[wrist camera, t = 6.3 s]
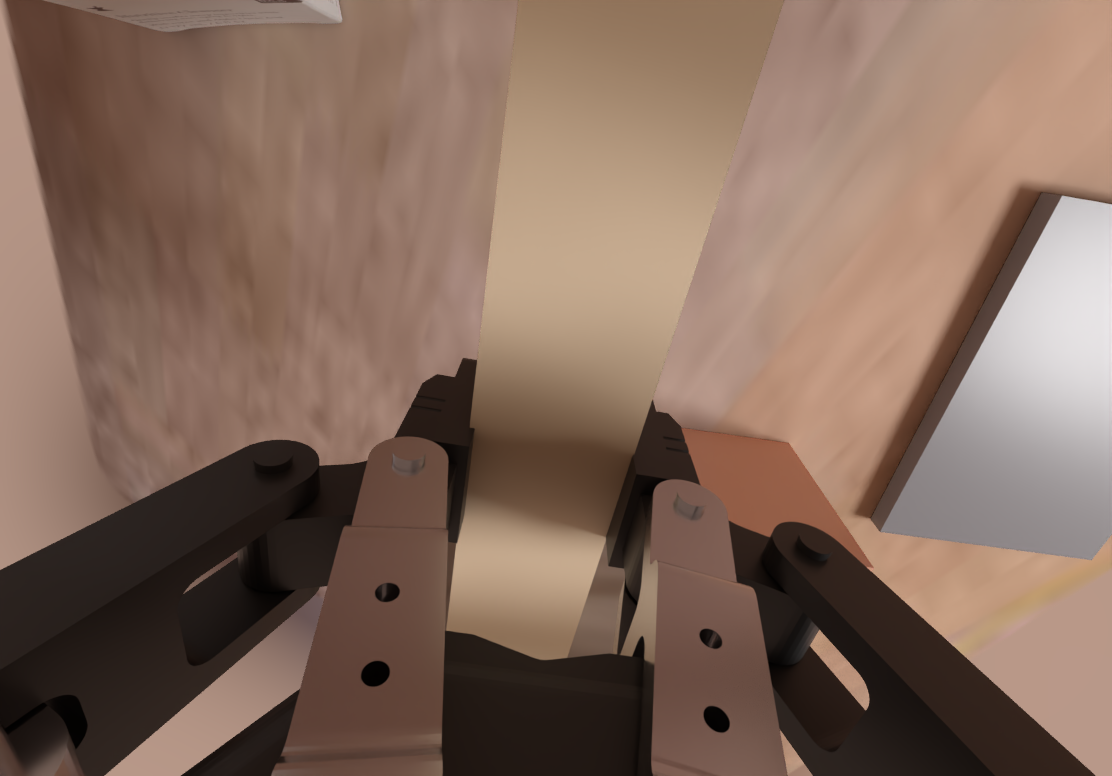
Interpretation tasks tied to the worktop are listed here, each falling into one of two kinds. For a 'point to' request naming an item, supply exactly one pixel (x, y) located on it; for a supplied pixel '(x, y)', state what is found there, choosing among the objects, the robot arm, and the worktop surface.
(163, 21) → the skincare box
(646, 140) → the beige rectangular block
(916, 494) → the board
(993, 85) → the worktop surface
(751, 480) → the tile
